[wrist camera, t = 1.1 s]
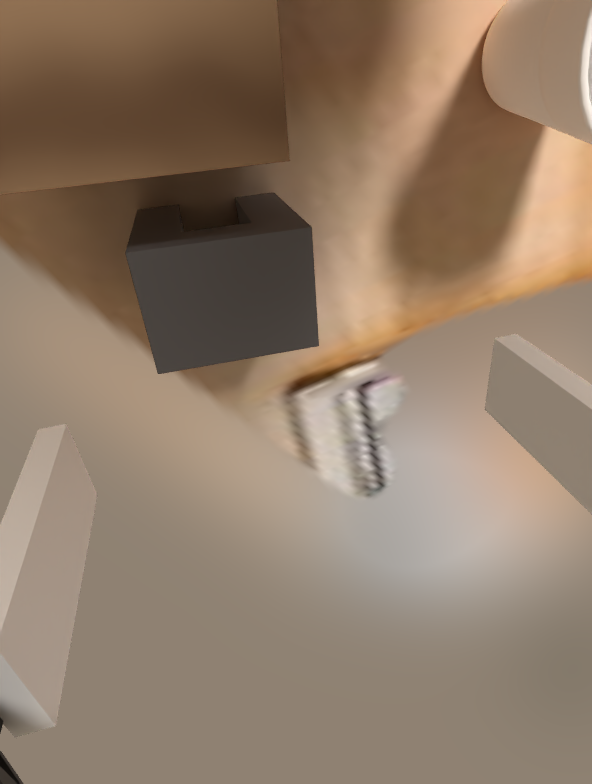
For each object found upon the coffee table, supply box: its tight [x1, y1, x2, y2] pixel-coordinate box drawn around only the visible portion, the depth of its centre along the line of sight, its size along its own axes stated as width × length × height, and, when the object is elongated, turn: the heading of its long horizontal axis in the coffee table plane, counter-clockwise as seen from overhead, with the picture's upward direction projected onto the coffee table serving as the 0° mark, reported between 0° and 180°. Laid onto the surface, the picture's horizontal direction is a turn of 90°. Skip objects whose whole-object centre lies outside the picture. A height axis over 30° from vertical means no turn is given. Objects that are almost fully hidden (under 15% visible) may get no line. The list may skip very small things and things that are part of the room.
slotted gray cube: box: [126, 193, 319, 374], centre depth 27 cm, size 6×8×9 cm
